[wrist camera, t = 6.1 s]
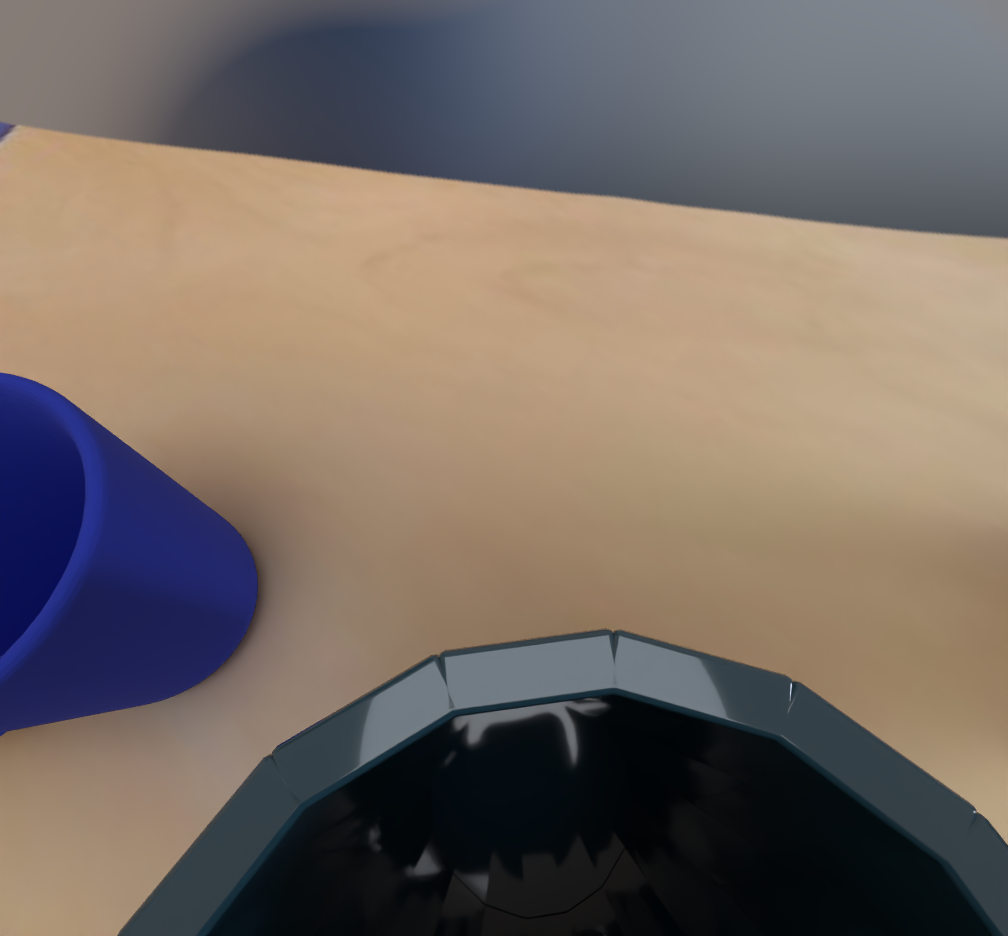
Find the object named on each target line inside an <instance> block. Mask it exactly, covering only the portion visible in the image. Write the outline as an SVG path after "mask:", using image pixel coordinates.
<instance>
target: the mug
mask: <svg viewBox="0 0 1008 936" xmlns="http://www.w3.org/2000/svg"><path fill="white" fill-rule="evenodd" d="M257 592H258V580H257V571H256V566H255V563H254V559H253V557H252V554H251V552H250V550H249V548H248V546H247V544H246V542H245V541H244V539H243V538H242V537H241V535H240V534H239V533H238V531H237V530H236V529H235V528H234V527H233V526H232V525H231V524H230V523H229V522H227V521H226V520H225V519H224V518H223V517H222V516H220V515H219V514H218V513H216V512H215V511H214V510H212V509H211V508H210V507H208V506H207V505H206V504H204V503H203V502H202V501H200V500H199V499H198V498H197V497H195V496H194V495H193V494H191V493H190V492H189V491H187V490H186V489H185V488H183V487H182V486H181V485H179V484H178V483H177V482H176V481H174V480H173V479H172V478H170V477H169V476H168V475H166V474H165V473H164V472H162V471H161V470H160V469H158V468H157V467H156V466H155V465H153V464H152V463H151V462H149V461H148V460H147V459H145V458H144V457H143V456H141V455H140V454H139V453H137V452H136V451H135V450H133V449H132V448H131V447H130V446H128V445H127V444H126V443H124V442H123V441H122V440H120V439H119V438H118V437H116V436H115V435H114V434H112V433H111V432H110V431H109V430H107V429H106V428H105V427H103V426H102V425H101V424H99V423H98V422H97V421H95V420H94V419H93V418H91V417H90V416H89V415H87V414H86V413H85V412H84V411H82V410H81V409H80V408H78V407H77V406H76V405H74V404H73V403H72V402H70V401H69V400H68V399H66V398H65V397H64V396H62V395H61V394H59V393H57V392H56V391H54V390H52V389H51V388H49V387H46V386H44V385H42V384H40V383H38V382H35V381H33V380H30V379H27V378H23V377H20V376H16V375H11V374H6V373H0V736H1V735H3V734H4V733H6V732H7V731H11V730H16V729H22V728H27V727H32V726H37V725H42V724H48V723H53V722H58V721H63V720H69V719H74V718H79V717H84V716H89V715H95V714H100V713H105V712H110V711H115V710H121V709H126V708H131V707H136V706H141V705H146V704H150V703H154V702H158V701H161V700H164V699H167V698H170V697H173V696H175V695H177V694H179V693H182V692H184V691H186V690H188V689H189V688H191V687H193V686H195V685H196V684H198V683H200V682H201V681H203V680H204V679H205V678H207V677H208V676H209V675H211V674H212V673H213V672H214V671H216V670H217V669H218V668H219V667H220V666H221V665H222V664H223V663H224V662H225V661H226V660H227V659H228V658H229V657H230V655H231V654H232V653H233V652H234V650H235V649H236V648H237V646H238V645H239V643H240V642H241V640H242V638H243V637H244V635H245V633H246V631H247V629H248V627H249V625H250V622H251V620H252V617H253V613H254V610H255V606H256V601H257Z"/></svg>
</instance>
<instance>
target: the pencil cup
mask: <svg viewBox="0 0 1008 936" xmlns="http://www.w3.org/2000/svg"><path fill="white" fill-rule="evenodd" d="M118 936H1008V845H1007V844H1006V843H1005V841H1004V840H1003V839H1002V838H1001V836H1000V835H999V834H998V832H997V831H996V830H995V829H994V827H993V826H992V825H991V824H990V822H989V821H988V820H987V819H986V818H985V817H984V816H982V815H981V814H980V813H978V812H977V810H976V809H975V808H974V806H973V805H972V804H970V803H969V802H968V801H967V800H965V799H964V798H962V797H961V796H960V795H958V794H957V793H955V792H954V791H953V790H951V789H950V788H948V787H947V786H946V785H944V784H943V783H941V782H940V781H939V780H937V779H936V778H934V777H933V776H932V775H930V774H929V773H927V772H926V771H925V770H923V769H922V768H920V767H919V766H918V765H916V764H915V763H913V762H912V761H911V760H909V759H908V758H906V757H905V756H904V755H902V754H901V753H899V752H898V751H897V750H895V749H894V748H892V747H891V746H889V745H888V744H887V743H885V742H884V741H882V740H881V739H880V738H878V737H877V736H875V735H874V734H873V733H871V732H870V731H868V730H867V729H866V728H864V727H863V726H861V725H860V724H859V723H857V722H856V721H854V720H853V719H852V718H850V717H849V716H847V715H846V714H845V713H843V712H842V711H840V710H839V709H838V708H836V707H835V706H833V705H832V704H831V703H829V702H828V701H826V700H825V699H824V698H822V697H821V696H819V695H818V694H817V693H815V692H814V691H812V690H811V689H809V688H808V687H807V686H805V685H804V684H802V683H801V682H798V681H794V680H792V679H791V678H789V677H788V676H786V675H785V674H781V673H777V672H774V671H770V670H766V669H763V668H759V667H755V666H752V665H748V664H745V663H741V662H737V661H734V660H730V659H726V658H723V657H719V656H715V655H712V654H708V653H705V652H701V651H697V650H694V649H690V648H686V647H683V646H679V645H675V644H672V643H668V642H665V641H661V640H657V639H654V638H650V637H646V636H643V635H639V634H635V633H632V632H628V631H625V630H621V629H620V630H614V631H612V630H609V629H606V628H605V629H597V630H590V631H583V632H575V633H568V634H561V635H553V636H546V637H538V638H531V639H524V640H516V641H509V642H501V643H494V644H487V645H479V646H472V647H464V648H457V649H450V650H445V651H443V652H441V653H440V655H438V654H435V655H430V656H429V657H427V658H425V659H424V660H422V661H420V662H419V663H417V664H415V665H413V666H412V667H410V668H408V669H407V670H405V671H403V672H402V673H400V674H398V675H397V676H395V677H393V678H391V679H390V680H388V681H386V682H385V683H383V684H381V685H380V686H378V687H376V688H374V689H373V690H371V691H369V692H368V693H366V694H364V695H363V696H361V697H359V698H358V699H356V700H354V701H352V702H351V703H349V704H347V705H346V706H344V707H342V708H341V709H339V710H337V711H336V712H334V713H332V714H330V715H329V716H327V717H325V718H324V719H322V720H320V721H319V722H317V723H315V724H314V725H312V726H310V727H308V728H307V729H305V730H303V731H302V732H300V733H298V734H297V735H295V736H293V737H292V738H290V739H288V740H286V741H285V742H283V743H281V744H280V745H278V746H277V747H276V748H275V749H274V751H273V752H272V754H269V755H267V756H266V757H264V758H263V759H262V760H261V762H260V763H259V764H258V765H257V766H256V768H255V769H254V770H253V771H252V772H251V774H250V775H249V776H248V777H247V778H246V780H245V781H244V782H243V783H242V784H241V786H240V787H239V788H238V789H237V790H236V792H235V793H234V794H233V795H232V796H231V798H230V799H229V800H228V801H227V803H226V804H225V805H224V806H223V807H222V809H221V810H220V811H219V812H218V813H217V815H216V816H215V817H214V818H213V819H212V821H211V822H210V823H209V824H208V825H207V827H206V828H205V829H204V830H203V831H202V833H201V834H200V835H199V836H198V837H197V839H196V840H195V841H194V842H193V843H192V845H191V846H190V847H189V848H188V849H187V851H186V852H185V853H184V854H183V855H182V857H181V858H180V859H179V860H178V861H177V863H176V864H175V865H174V866H173V867H172V869H171V870H170V871H169V872H168V874H167V875H166V876H165V877H164V878H163V880H162V881H161V882H160V883H159V884H158V886H157V887H156V888H155V889H154V890H153V892H152V893H151V894H150V895H149V896H148V898H147V899H146V900H145V901H144V902H143V904H142V905H141V906H140V907H139V908H138V910H137V911H136V912H135V913H134V914H133V916H132V917H131V918H130V919H129V920H128V922H127V923H126V924H125V925H124V926H123V928H122V929H121V930H120V932H119V934H118Z"/></svg>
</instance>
